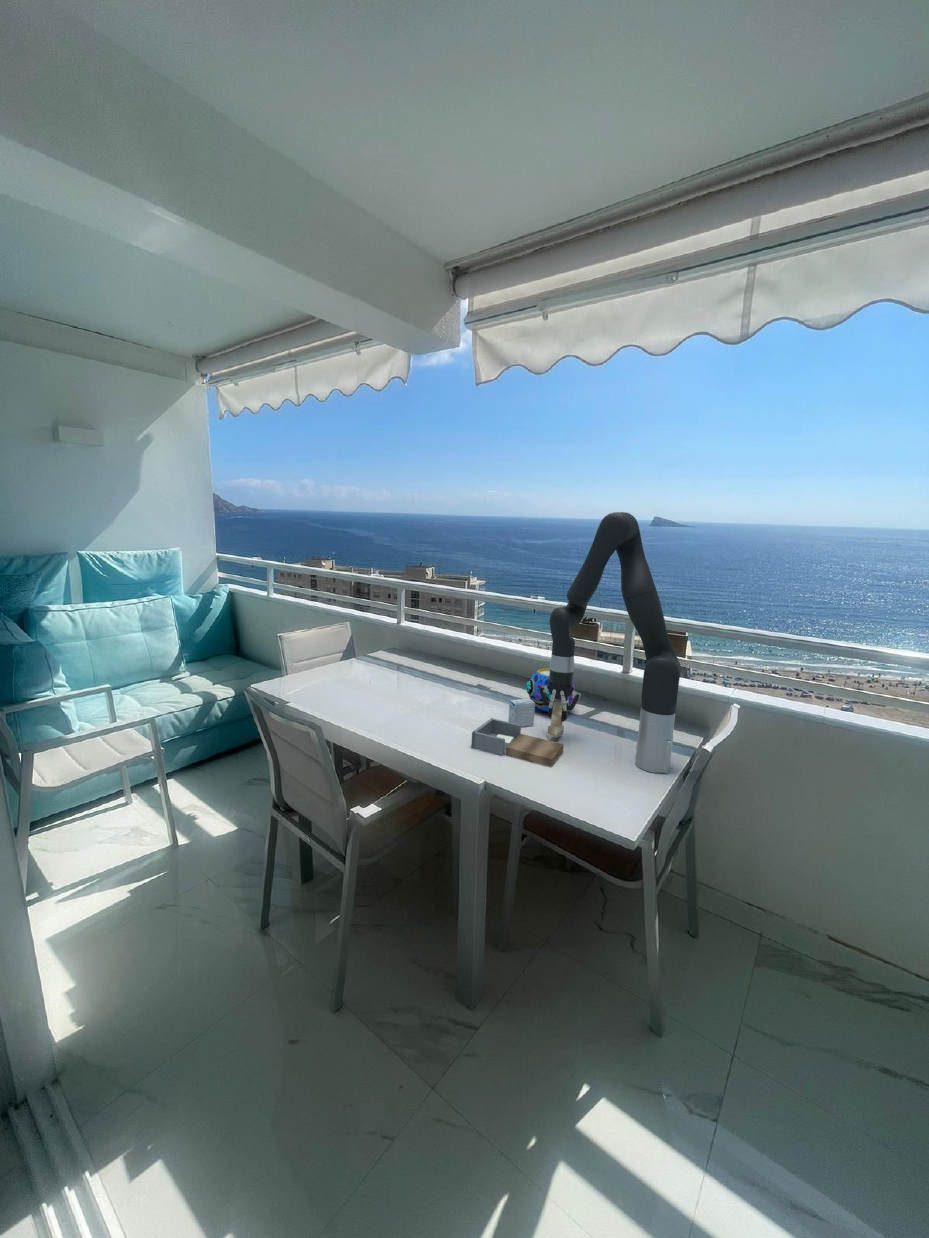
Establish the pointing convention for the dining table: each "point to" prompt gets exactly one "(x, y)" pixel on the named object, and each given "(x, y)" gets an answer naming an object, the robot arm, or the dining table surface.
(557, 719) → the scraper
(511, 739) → the cream tile
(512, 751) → the walnut plate
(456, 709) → the dining table surface
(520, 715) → the medicine box
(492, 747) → the box
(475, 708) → the dining table surface
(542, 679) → the ceramic pot
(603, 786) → the dining table surface
